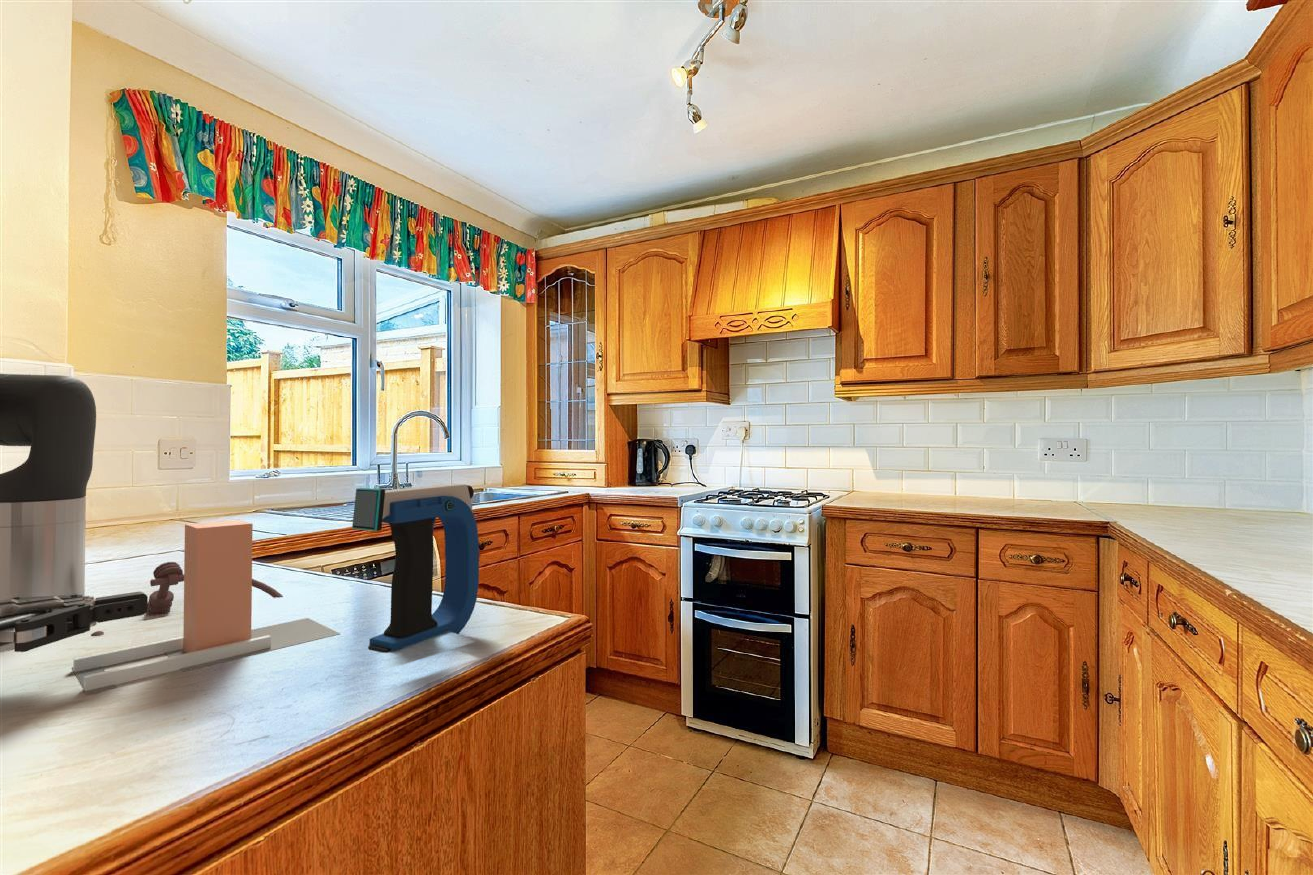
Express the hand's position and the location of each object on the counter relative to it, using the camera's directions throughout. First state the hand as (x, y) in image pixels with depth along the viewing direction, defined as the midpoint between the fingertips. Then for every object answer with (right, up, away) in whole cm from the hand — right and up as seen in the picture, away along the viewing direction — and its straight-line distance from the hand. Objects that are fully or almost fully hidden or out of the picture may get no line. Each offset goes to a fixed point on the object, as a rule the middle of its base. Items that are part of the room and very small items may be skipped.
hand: (145, 602), depth 60 cm
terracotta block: (+4, -7, +5) cm, 9 cm away
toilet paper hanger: (-13, -9, +21) cm, 26 cm away
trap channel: (+5, -8, +5) cm, 11 cm away
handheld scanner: (+25, -8, +10) cm, 28 cm away
